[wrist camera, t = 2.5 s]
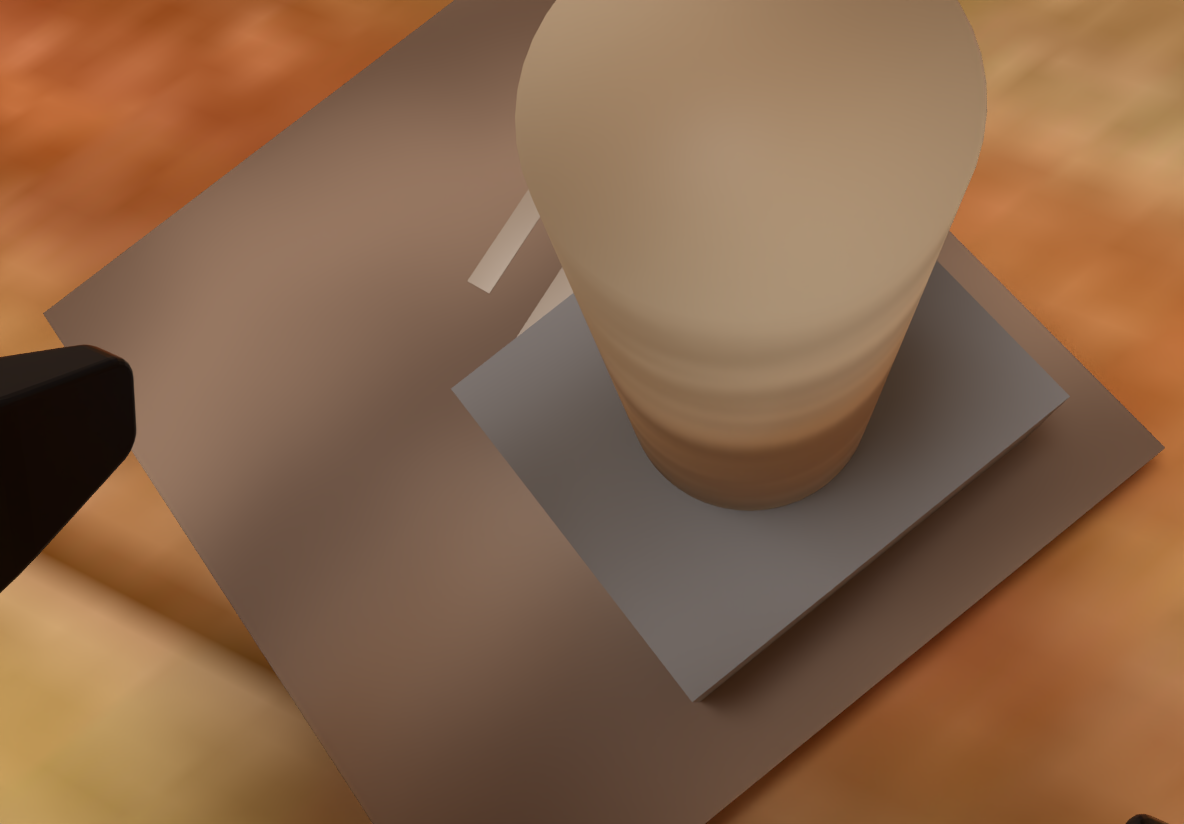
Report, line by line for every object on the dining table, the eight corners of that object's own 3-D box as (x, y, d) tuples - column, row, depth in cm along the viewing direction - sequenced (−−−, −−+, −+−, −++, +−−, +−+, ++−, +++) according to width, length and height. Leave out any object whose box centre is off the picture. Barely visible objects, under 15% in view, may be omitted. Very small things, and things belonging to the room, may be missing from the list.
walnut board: (1140, 463, 19) (1165, 447, 18) (504, 982, 19) (486, 1001, 17) (612, -75, 23) (604, -115, 22) (79, 333, 23) (42, 313, 22)
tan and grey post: (1029, 435, 18) (1399, 82, 8) (700, 701, 18) (628, 706, 8) (791, 186, 20) (835, -379, 10) (487, 426, 20) (184, 114, 9)
